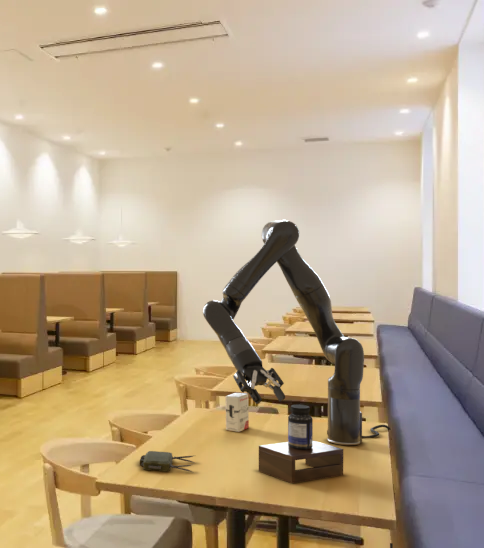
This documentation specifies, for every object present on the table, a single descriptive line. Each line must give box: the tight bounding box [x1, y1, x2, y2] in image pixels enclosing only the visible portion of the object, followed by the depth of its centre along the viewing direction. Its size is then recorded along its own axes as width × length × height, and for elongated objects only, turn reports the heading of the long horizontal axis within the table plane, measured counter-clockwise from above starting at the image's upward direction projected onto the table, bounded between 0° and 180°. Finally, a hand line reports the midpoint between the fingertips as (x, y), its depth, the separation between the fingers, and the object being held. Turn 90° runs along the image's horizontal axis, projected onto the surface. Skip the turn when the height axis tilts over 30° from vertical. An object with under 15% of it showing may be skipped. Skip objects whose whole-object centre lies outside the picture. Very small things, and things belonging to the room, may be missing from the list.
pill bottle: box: [287, 404, 314, 450], centre depth 195 cm, size 6×6×11 cm
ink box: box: [225, 392, 250, 433], centre depth 247 cm, size 8×5×12 cm, turn 140°
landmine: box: [139, 450, 196, 473], centre depth 203 cm, size 14×3×15 cm
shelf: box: [258, 440, 344, 484], centre depth 195 cm, size 18×12×7 cm, turn 113°
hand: (271, 401), depth 206 cm, fingers open, 8 cm apart
